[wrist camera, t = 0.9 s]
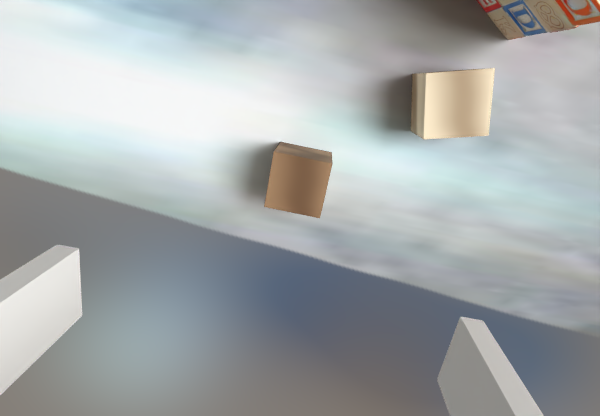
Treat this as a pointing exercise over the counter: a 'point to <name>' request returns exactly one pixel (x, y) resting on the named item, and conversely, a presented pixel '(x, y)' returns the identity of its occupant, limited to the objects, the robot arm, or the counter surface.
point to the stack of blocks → (540, 15)
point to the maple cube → (452, 103)
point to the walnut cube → (298, 179)
